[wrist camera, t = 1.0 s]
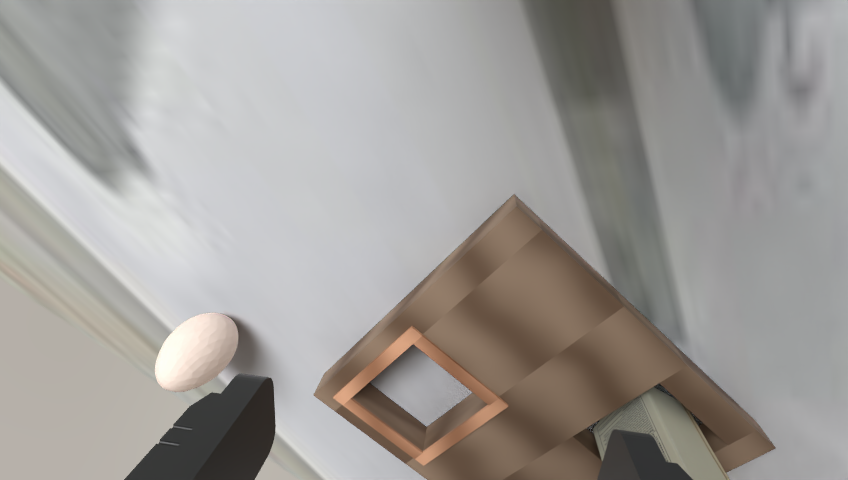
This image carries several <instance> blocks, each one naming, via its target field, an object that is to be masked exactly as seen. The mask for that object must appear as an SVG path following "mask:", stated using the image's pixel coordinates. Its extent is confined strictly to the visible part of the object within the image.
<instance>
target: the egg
mask: <svg viewBox="0 0 848 480" xmlns="http://www.w3.org/2000/svg"><path fill="white" fill-rule="evenodd" d="M237 346H238V330H237V327H236V325H235V323H234V321H233V320H232V319H231V318H229V317H227V316H226V315H224V314H219V313H204V314H200V315H197V316H194V317H192V318H190V319H188V320H186V321H185V322H184V323H182V324H181V325H179V326H178V327H177V328H176V329H175V330H174V331H173V332H172V333H171V334H170V335H169V336H168V338H167V339H166V341H165V342H164V344H163V346H162V348H161V350H160V352H159V354H158V357H157V361H156V365H155V375H156V379H157V381H158V383H159V384H160V385H161V387H163V388H164V389H166V390H169V391H173V392H185V391H188V390H191V389H194V388H197V387H199V386H201V385H203V384H205V383H207V382H209V381H211V380H212V379H213V378H215V377H216V376H217V375H218V374H219V373H221V372H222V371H223V369H224V368H225V367H226V366H227V365H228V364H229V362H230V361H231V360H232V358H233V356H234V354H235V352H236V349H237Z"/></svg>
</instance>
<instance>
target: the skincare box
mask: <svg viewBox="0 0 848 480" xmlns="http://www.w3.org/2000/svg"><path fill="white" fill-rule="evenodd" d="M614 429H618V430H625V431H632V432H639V433H646V434H650V435H652V436H653V437H654V439H655V441H656V442H657V444H658V446H659V448H660V450H661V452H662V454H663V456H664V458H665V460H666V462H671V463H678V465H679V466H680V467H681V468H682V469H683V470H684V471H685V472H686V473H687V474H688V475H689V476H690V477H691V478H692V479H693V480H730V479H729V478H728V476H727V474H726V472H725V471H724V469H723V467H722V466H721V464H720V462H719V460H718V459H717V457H716V455H715V454H714V452H713V450H712V449H711V447H710V445H709V444H708V442H707V440H706V438H705V437H704V435H703V433H702V432H701V430H700V428H699V427H698V425H697V423H696V421H695V420H694V418H693V416H692V414H691V413H690V411H689V410H688V409H687V408H686V407H685V406H684V405H683V404H682V403H681V402H679V401H678V400H676V399H675V398H673V397H671V396H669V395H667V394H666V393H664V392H662V391H660V390H658V389H657V388H655V387H652V388H651V389H649V390H647V391H646V392H644V393H642V394H641V395H639V396H638V397H636V398H634V399H633V400H631V401H629V402H628V403H626V404H625V405H623V406H621V407H620V408H618V409H617V410H615V411H613V412H612V413H610V414H608V415H607V416H605V417H604V418H602V419H601V420H600V421H599V423H598V424H597V425H596V426H595V427H594V428H593V432H594V436H595V439H596V443H597V446H598V449H599V453H600V456H601V459H602V461H603V458H604V455H605V451H606V448H607V444H608V441H609V438H610V435H611V433H612V431H613V430H614Z"/></svg>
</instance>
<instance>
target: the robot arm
mask: <svg viewBox="0 0 848 480" xmlns="http://www.w3.org/2000/svg"><path fill="white" fill-rule="evenodd" d="M274 436H275V408H274V387H273V381H272V379H271V378H268V377H261V376H254V375H247V374H238V375H237V376H235V378H234V379H233V380H232V381H231V382H230V383H229V385H228V386H227V387H226V388H225V389H224V391H223V392H222V393H221V394H218V393H210V394H209V395H207V396H205V397H204V398H202V399H201V400H199V401H198V402H196V403H194V404H193V405H191V406H190V407H189V408H188V409H187V410H186V411H185V412H184V413H183V415H182V416H181V417H180V418H179V419H178V420H177V421H176V423H175V424H174V426H173V428H172V429H169V430H168V432H166V434H165V435H164V436H163V437H162V438H161V439H160V442H159V444H156V445H155V446H154V447H153V448H152V449H151V450H150V451H149V453H148V454H147V455H146V456H145V457H144V458H143V459H142V461H141V462H140V463H139V464H138V465H137V466H136V467H135V468H134V469H133V470H132V472H131V473H130V474H129V475H128V476H127V477H126V478H125V479H124V480H255V478H256V476H257V474H258V472H259V471H260V469H261V467H262V465H263V464H264V462H265V460H266V458H267V456H268V455H269V452H270V450H271V447H272V444H273V440H274ZM597 480H693V479H692V478H691V477H690V476H689V475H688V474H687V473H686V472H685V471H684V470H683V469H682V468H681V467H680V466H679V465H678V463H671V462H666V460H665V458H664V456H663V454H662V452H661V450H660V448H659V446H658V444H657V442H656V441H655V439H654V437H653V436H652V435H650V434H646V433H639V432H632V431H625V430H618V429H614V430H613V431H612V433H611V435H610V438H609V441H608V444H607V448H606V451H605V455H604V458H603V461H602V465H601V468H600V472H599V475H598V479H597Z"/></svg>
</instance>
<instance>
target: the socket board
mask: <svg viewBox="0 0 848 480" xmlns="http://www.w3.org/2000/svg"><path fill="white" fill-rule="evenodd" d="M413 344H414V345H415V346H416V347H417V348H419V349H420V350H421V351H422V352H424V353H425V354H426V355H427V356H429V357H430V358H431V359H432V360H433V361H435V362H436V363H437V364H438V365H440V366H441V367H442V368H443V369H445V370H446V371H447V372H448V373H450V374H451V375H452V376H453V377H454V378H456V379H457V380H458V381H459V382H461V383H462V384H463V385H464V386H466V387H467V388H468V389H469V390H471V391H472V392H473V393H472V394H470V395H469V396H468V397H466V398H465V399H464V400H462V401H461V402H460V403H458V404H457V405H456V406H454V407H453V408H452V409H450V410H449V411H448V412H446V413H445V414H444V415H442V416H441V417H440V418H438V419H437V420H436V421H434V422H433V423H432V424H430V425H429V426H428V427H426V426H424V425H423V424H422V423H421V422H419V421H418V420H417V419H415V418H414V417H413V416H411V415H410V414H409V413H408V412H406V411H405V410H404V409H402V408H401V407H400V406H398V405H397V404H396V403H395V402H393V401H392V400H391V399H389V398H388V397H387V396H386V395H384V394H383V393H382V392H380V391H379V390H378V389H376V388H375V387H374V386H373V385H371V384H370V383H369V382H370V381H371V380H373V379H374V378H375V377H376V376H377V375H378V374H379V373H381V372H382V371H383V370H384V369H385V368H386V367H387V366H389V365H390V364H391V363H392V362H393V361H394V360H395V359H397V358H398V357H399V356H400V355H401V354H402V353H403V352H405V351H406V350H407V349H408V348H409V347H410V346H411V345H413ZM659 383H660V384H661V385H662V386H663V387H664V388H665V389H666V390H667V391H668V392H670V393H671V394H672V395H673V396H674V397H675V398H676V399H677V400H678V401H679V402H681V403H682V404H683V405H684V406H685V407H686V408H687V409H688V410H689V411H690V412H692V413H693V414H694V415H695V416H696V417H697V418H698V419H699V420H700V421H702V422H703V423H702V424H701V425H699V426H698V427H699V428H700V430H701V432H702V433H703V435H704V437H705V438H706V440H707V442H708V444H709V445H710V447H711V449H712V450H713V452H714V454H715V455H716V457H717V459H718V460H719V462H720V464H721V466H722V467H723V469H724V471H725V472H728V471H731V470H733V469H735V468H737V467H739V466H741V465H743V464H745V463H747V462H749V461H751V460H753V459H755V458H757V457H759V456H761V455H763V454H765V453H767V452H769V451H771V450H773V449H775V446H774V445H773V444H772V442H771V441H770V440H769V438H768V437H767V436H766V434H765V433H764V432H763V430H762V429H761V428H760V426H759V425H758V424H757V422H756V421H755V420H754V419H753V418H752V417H751V416H750V415H749V414H748V413H747V412H746V411H744V410H743V409H742V408H741V407H740V406H739V405H738V404H737V403H736V402H735V401H734V400H733V399H732V398H731V397H730V396H728V395H727V394H726V393H725V392H724V391H723V390H722V389H721V388H720V387H719V386H718V385H717V384H716V383H715V382H714V381H713V380H711V379H710V378H709V377H708V376H707V375H706V374H705V373H704V372H703V371H702V370H701V369H700V368H699V367H698V366H697V365H695V364H694V363H693V362H692V361H691V360H690V359H689V358H688V357H687V356H686V355H685V354H684V353H683V352H682V351H681V350H680V349H678V348H677V347H676V346H675V345H674V344H673V343H672V342H671V341H670V340H669V339H668V338H667V337H666V336H665V335H664V334H662V333H661V332H660V331H659V330H658V329H657V328H656V327H655V326H654V325H653V324H652V323H651V322H650V321H649V320H648V319H647V318H645V317H644V316H643V315H642V314H641V313H640V312H639V311H638V310H637V309H636V308H635V307H634V306H633V305H632V304H631V303H629V302H628V301H627V300H626V299H625V298H624V297H623V296H622V295H621V294H620V293H619V292H618V291H617V290H616V289H615V288H614V287H612V286H611V285H610V284H609V283H608V282H607V281H606V280H605V279H604V278H603V277H602V276H601V275H600V274H599V273H598V272H596V271H595V270H594V269H593V268H592V267H591V266H590V265H589V264H588V263H587V262H586V261H585V260H584V259H583V258H582V257H581V256H579V255H578V254H577V253H576V252H575V251H574V250H573V249H572V248H571V247H570V246H569V245H568V244H567V243H566V242H565V241H563V240H562V239H561V238H560V237H559V236H558V235H557V234H556V233H555V232H554V231H553V230H552V229H551V228H550V227H549V226H548V225H546V224H545V223H544V222H543V221H542V220H541V219H540V218H539V217H538V216H537V215H536V214H535V213H534V212H533V211H532V210H530V209H529V208H528V207H527V206H526V205H525V204H524V203H523V202H522V201H521V200H520V199H519V198H518V197H517V196H516V195H515V194H514V195H513V196H512V197H510V198H509V199H508V200H507V201H506V202H505V203H504V204H503V205H502V206H501V207H500V208H499V209H498V210H497V211H496V212H495V213H494V214H493V215H492V216H490V217H489V218H488V219H487V220H486V221H485V222H484V223H483V224H482V225H481V226H480V227H479V228H478V229H477V230H476V231H475V232H474V233H473V234H471V235H470V236H469V237H468V238H467V239H466V240H465V241H464V242H463V243H462V244H461V245H460V246H459V247H458V248H457V249H456V250H455V251H454V252H452V253H451V254H450V255H449V256H448V257H447V258H446V259H445V260H444V261H443V262H442V263H441V264H440V265H439V266H438V267H437V268H436V269H435V270H433V271H432V272H431V273H430V274H429V275H428V276H427V277H426V278H425V279H424V280H423V281H422V282H421V283H420V284H419V285H418V286H417V287H416V288H414V289H413V290H412V291H411V292H410V293H409V294H408V295H407V296H406V297H405V298H404V299H403V300H402V301H401V302H400V303H399V304H398V305H397V306H395V307H394V308H393V309H392V310H391V311H390V312H389V313H388V314H387V315H386V316H385V317H384V318H383V319H382V320H381V321H380V322H379V323H378V324H376V325H375V326H374V327H373V328H372V329H371V330H370V331H369V332H368V333H367V334H366V335H365V336H364V337H363V338H362V339H361V340H360V341H359V342H357V343H356V344H355V345H354V346H353V347H352V348H351V349H350V350H349V351H348V352H347V353H346V354H345V355H344V356H343V357H342V358H341V359H340V360H338V361H337V362H336V363H335V364H334V365H333V366H332V367H331V368H330V369H329V370H328V371H327V372H326V373H325V374H324V375H323V377H322V379H321V381H320V383H319V385H318V387H317V389H316V391H315V393H314V396H315V397H316V398H318V399H319V400H321V401H322V402H323V403H325V404H326V405H327V406H329V407H330V408H331V409H333V410H334V411H335V412H337V413H338V414H339V415H341V416H342V417H343V418H345V419H346V420H347V421H349V422H350V423H351V424H353V425H354V426H356V427H357V428H358V429H360V430H361V431H362V432H364V433H365V434H366V435H368V436H369V437H370V438H372V439H373V440H374V441H376V442H377V443H378V444H380V445H381V446H382V447H384V448H385V449H387V450H388V451H389V452H391V453H392V454H393V455H395V456H396V457H397V458H399V459H400V460H401V461H403V462H404V463H405V464H407V465H408V466H409V467H411V468H412V469H413V470H415V471H416V472H417V473H419V474H420V475H422V476H423V477H424V478H426V479H427V480H597V479H598V475H599V472H600V468H601V465H602V459H601V456H600V453H599V449H598V446H597V443H596V439H595V436H594V434H593V433H592V432H590V431H589V430H588V429H587V427H589V426H591V425H592V424H594V423H595V422H597V421H599V420H600V419H602V418H604V417H605V416H607V415H608V414H610V413H612V412H613V411H615V410H617V409H618V408H620V407H621V406H623V405H625V404H626V403H628V402H629V401H631V400H633V399H634V398H636V397H638V396H639V395H641V394H642V393H644V392H646V391H647V390H649V389H651V388H652V387H654V386H655V385H657V384H659Z"/></svg>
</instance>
